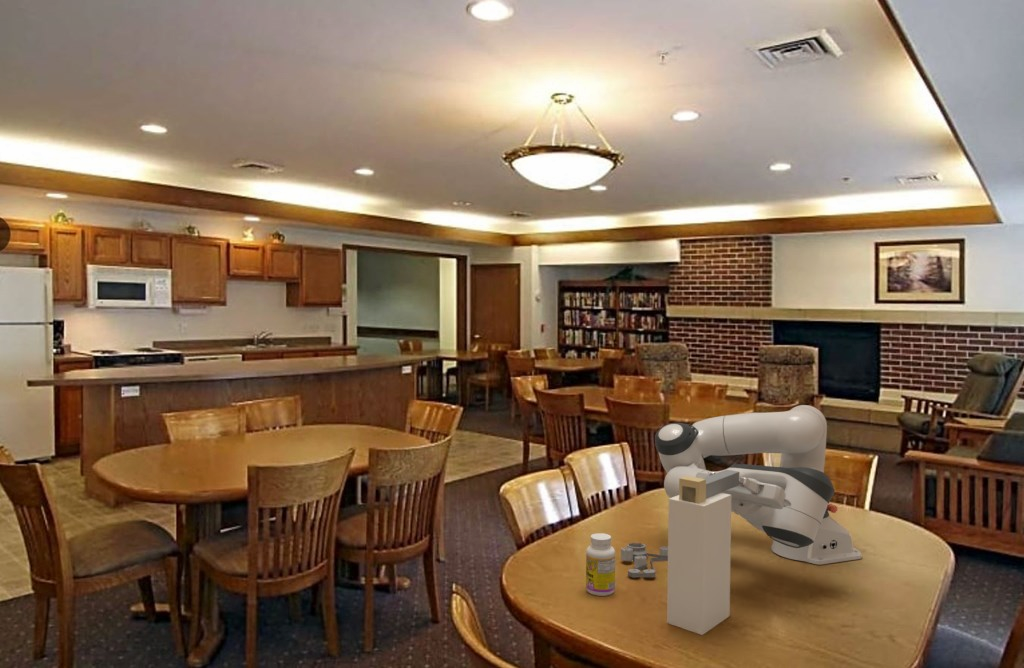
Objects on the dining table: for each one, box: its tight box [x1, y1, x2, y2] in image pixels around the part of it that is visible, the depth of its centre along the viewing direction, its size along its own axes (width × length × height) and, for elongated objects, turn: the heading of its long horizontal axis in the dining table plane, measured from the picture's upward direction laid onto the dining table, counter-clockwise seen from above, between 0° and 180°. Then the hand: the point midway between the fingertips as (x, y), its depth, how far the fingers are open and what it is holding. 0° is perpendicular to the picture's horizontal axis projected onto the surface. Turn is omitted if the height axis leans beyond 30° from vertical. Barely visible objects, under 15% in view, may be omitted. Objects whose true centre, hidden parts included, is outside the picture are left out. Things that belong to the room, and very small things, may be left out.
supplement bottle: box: [585, 532, 616, 597], centre depth 163 cm, size 7×7×13 cm
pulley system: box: [620, 542, 668, 579], centre depth 182 cm, size 27×5×15 cm
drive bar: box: [679, 469, 739, 504], centre depth 151 cm, size 20×4×4 cm, turn 137°
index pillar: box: [666, 493, 732, 636], centre depth 148 cm, size 12×8×26 cm, turn 137°
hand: (726, 477), depth 156 cm, fingers open, 6 cm apart
